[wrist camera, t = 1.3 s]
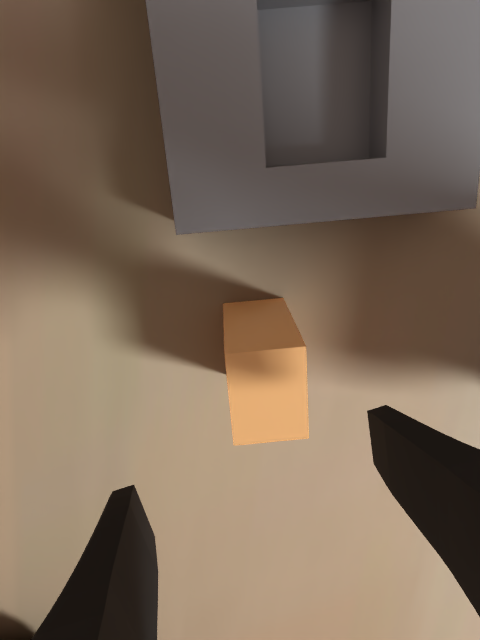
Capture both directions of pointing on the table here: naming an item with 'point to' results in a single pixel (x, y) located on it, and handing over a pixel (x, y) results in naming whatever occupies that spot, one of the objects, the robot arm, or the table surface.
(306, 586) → the table surface
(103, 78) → the table surface
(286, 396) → the plug
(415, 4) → the grey flat block
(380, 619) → the table surface
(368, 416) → the robot arm
